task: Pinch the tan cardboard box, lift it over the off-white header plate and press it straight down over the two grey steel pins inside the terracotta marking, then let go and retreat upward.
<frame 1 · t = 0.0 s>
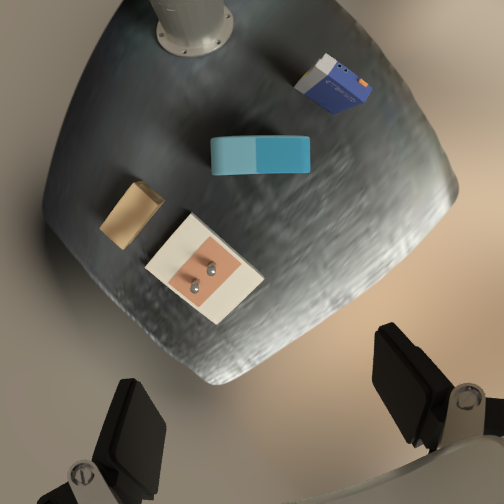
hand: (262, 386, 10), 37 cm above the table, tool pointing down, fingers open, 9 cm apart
walkman: (317, 95, 41), on the table
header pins: (203, 277, 45), on the header plate, point 2 cm above the table
header plate: (204, 270, 48), on the table
tan cardboard box: (137, 211, 44), on the table
data package: (253, 156, 43), on the table
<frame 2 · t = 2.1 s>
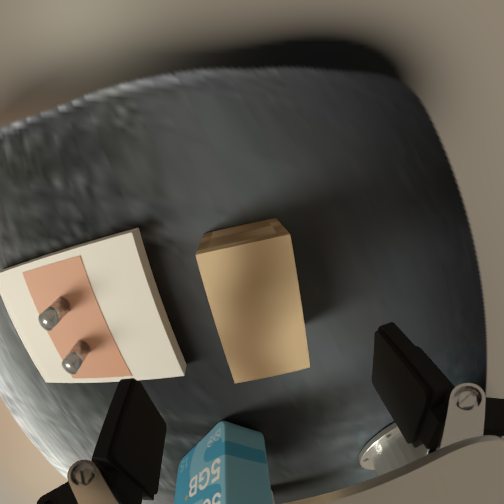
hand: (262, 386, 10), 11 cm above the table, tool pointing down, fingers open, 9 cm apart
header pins: (65, 335, 18), on the header plate, point 3 cm above the table
header plate: (81, 317, 21), on the table
tan cardboard box: (253, 285, 21), on the table
data package: (217, 445, 27), on the table
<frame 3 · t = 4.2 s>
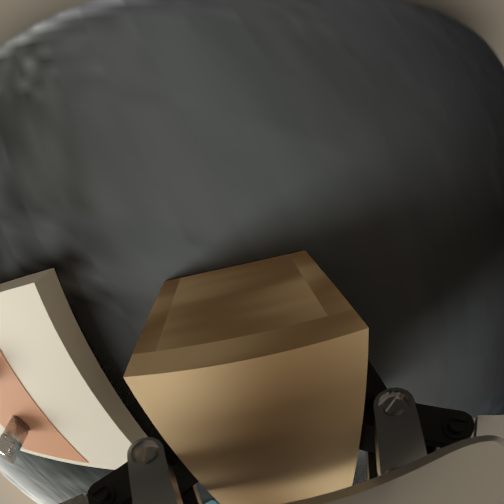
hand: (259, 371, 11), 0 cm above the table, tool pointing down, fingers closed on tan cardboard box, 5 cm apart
header plate: (13, 383, 11), on the table
tan cardboard box: (258, 364, 11), on the table, touching gripper
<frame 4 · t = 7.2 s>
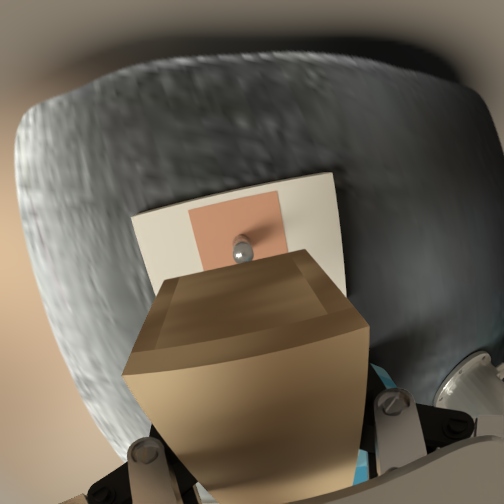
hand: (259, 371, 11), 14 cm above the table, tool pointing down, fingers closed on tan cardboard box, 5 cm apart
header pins: (248, 273, 21), on the header plate, point 3 cm above the table
header plate: (245, 260, 24), on the table
tan cardboard box: (258, 364, 11), point 14 cm above the table, touching gripper
data package: (336, 391, 30), on the table
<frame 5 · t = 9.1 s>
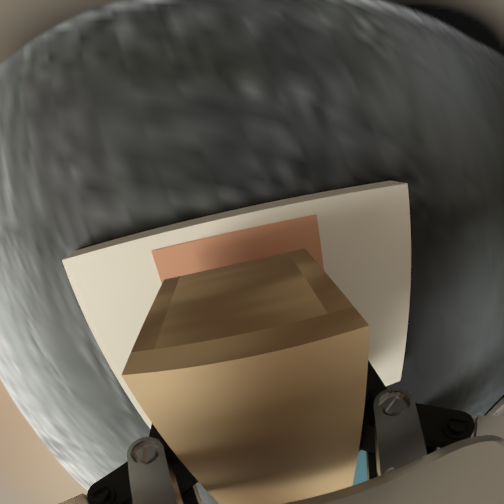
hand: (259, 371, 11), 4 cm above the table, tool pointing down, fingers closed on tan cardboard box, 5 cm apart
header plate: (256, 326, 14), on the table
tan cardboard box: (258, 364, 11), point 3 cm above the table, touching gripper
data package: (363, 457, 21), on the table
when the fingers open (2 cm above the table, at t = 10.2 s): tan cardboard box stays where it is, resting on header plate.
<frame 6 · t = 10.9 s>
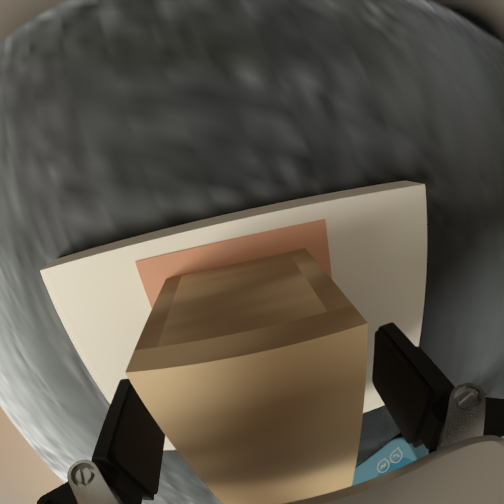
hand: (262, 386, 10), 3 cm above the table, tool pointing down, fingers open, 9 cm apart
header plate: (255, 342, 13), on the table
tan cardboard box: (259, 362, 11), point 2 cm above the table, touching header plate
data package: (366, 467, 19), on the table
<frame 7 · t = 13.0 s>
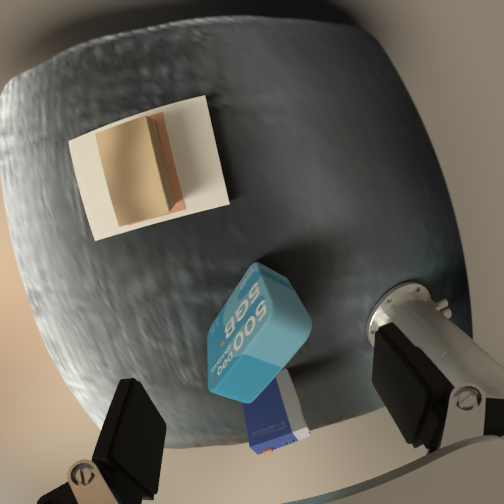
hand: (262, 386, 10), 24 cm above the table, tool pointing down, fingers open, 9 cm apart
walkman: (265, 382, 41), on the table
header plate: (146, 168, 29), on the table
tan cardboard box: (143, 168, 27), point 2 cm above the table, touching header plate
data package: (244, 303, 36), on the table
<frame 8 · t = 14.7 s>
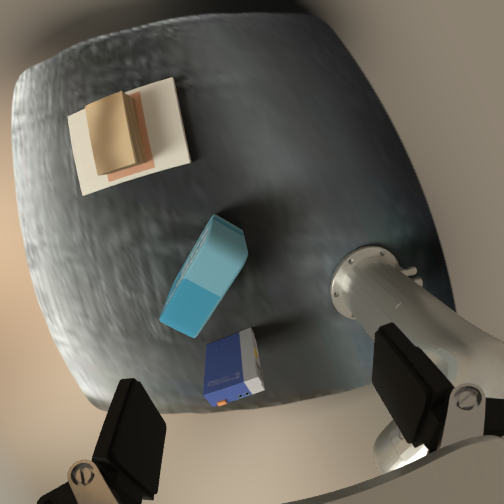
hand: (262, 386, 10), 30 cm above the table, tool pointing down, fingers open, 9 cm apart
walkman: (231, 341, 45), on the table
header plate: (126, 136, 34), on the table
tan cardboard box: (122, 135, 32), point 2 cm above the table, touching header plate
data package: (206, 255, 40), on the table
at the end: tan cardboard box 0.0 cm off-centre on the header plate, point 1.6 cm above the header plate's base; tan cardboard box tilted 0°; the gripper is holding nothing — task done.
